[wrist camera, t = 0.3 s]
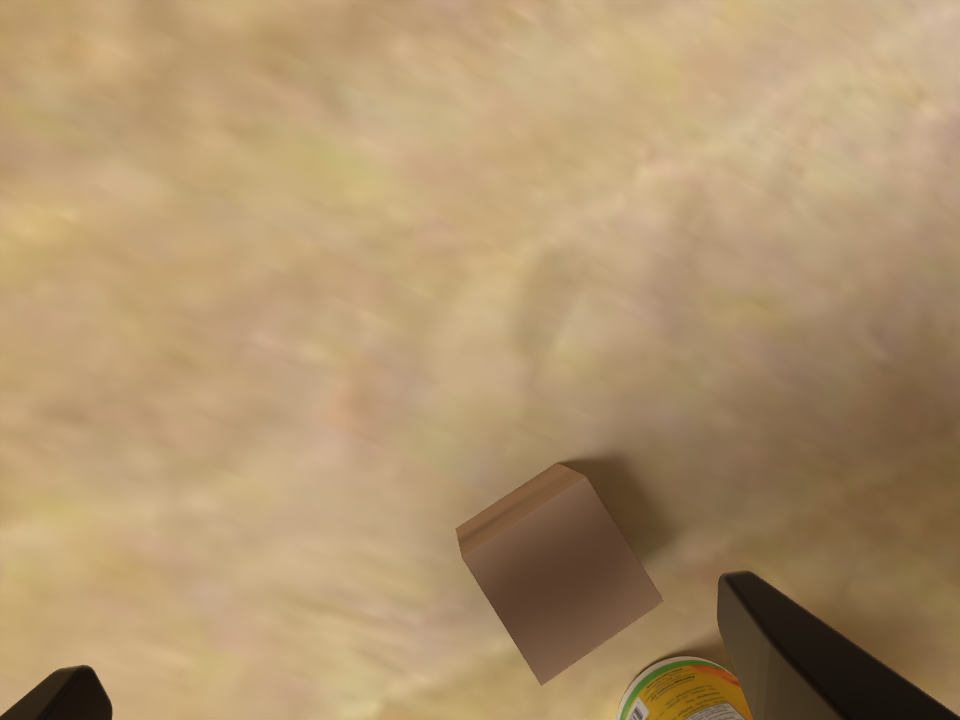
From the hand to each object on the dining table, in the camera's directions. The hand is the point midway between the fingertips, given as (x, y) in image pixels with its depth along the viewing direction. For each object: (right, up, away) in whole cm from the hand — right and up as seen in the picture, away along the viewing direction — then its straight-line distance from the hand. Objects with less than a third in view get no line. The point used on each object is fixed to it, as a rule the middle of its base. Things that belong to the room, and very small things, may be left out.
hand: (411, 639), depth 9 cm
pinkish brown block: (+3, -3, +15) cm, 15 cm away
